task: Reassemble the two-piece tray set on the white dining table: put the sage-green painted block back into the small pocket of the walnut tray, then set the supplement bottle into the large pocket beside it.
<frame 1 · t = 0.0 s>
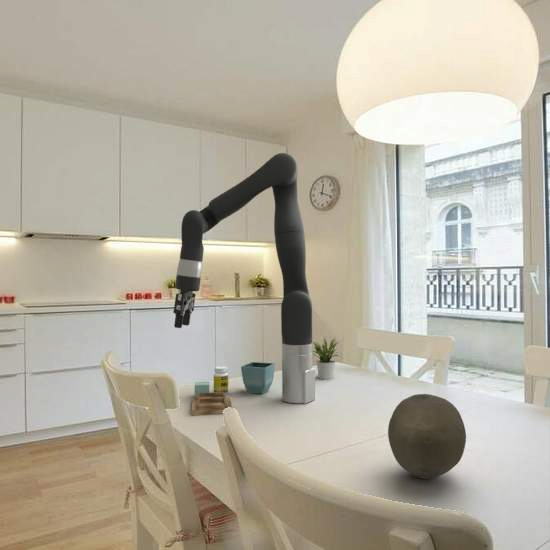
hand: (181, 326, 142), 22 cm above the table, tool pointing down, fingers open, 8 cm apart
block: (201, 397, 143), on the table
walnut tray: (211, 406, 132), on the table
supplement bottle: (220, 394, 148), on the table
house plant: (329, 378, 171), on the table
brown ball: (426, 478, 84), on the table
flower pot: (258, 392, 150), on the table
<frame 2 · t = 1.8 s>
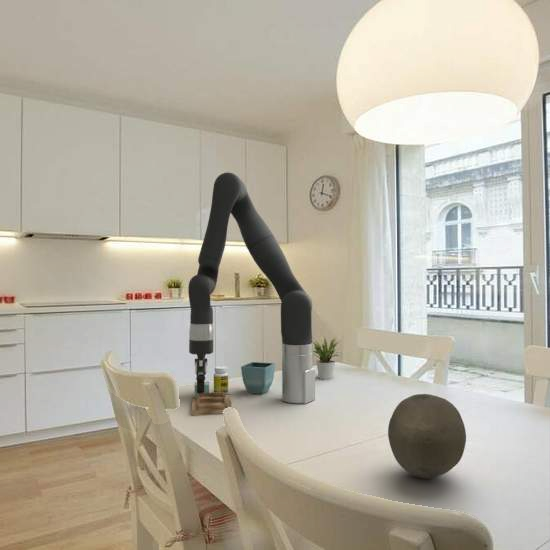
hand: (200, 389, 143), 2 cm above the table, tool pointing down, fingers open, 8 cm apart
nothing on the table moved.
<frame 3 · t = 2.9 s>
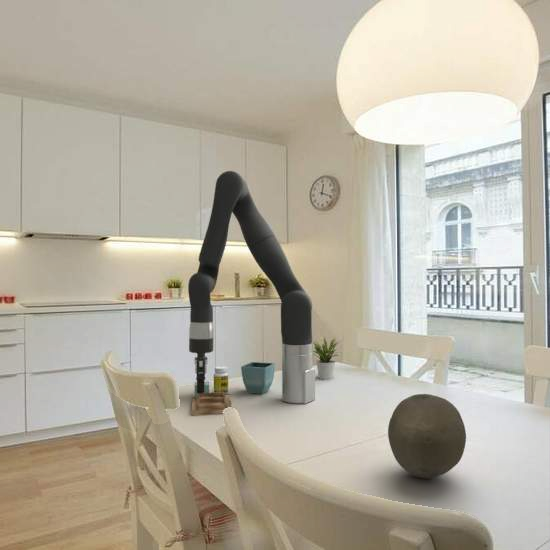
hand: (200, 390, 142), 2 cm above the table, tool pointing down, fingers open, 6 cm apart
block: (201, 397, 143), on the table, touching gripper
everything else where it was.
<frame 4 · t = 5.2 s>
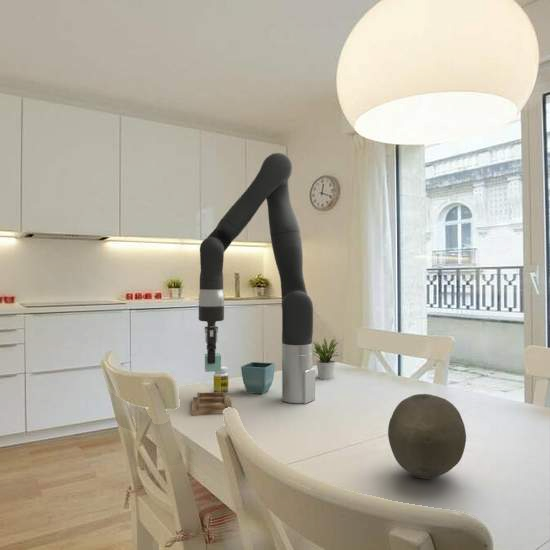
hand: (211, 361, 136), 12 cm above the table, tool pointing down, fingers closed on block, 4 cm apart
block: (212, 369, 136), point 10 cm above the table, touching gripper
everything else where it was.
when the fingers open (3 cm above the table, at t = 7.1 s): block stays where it is, resting on walnut tray.
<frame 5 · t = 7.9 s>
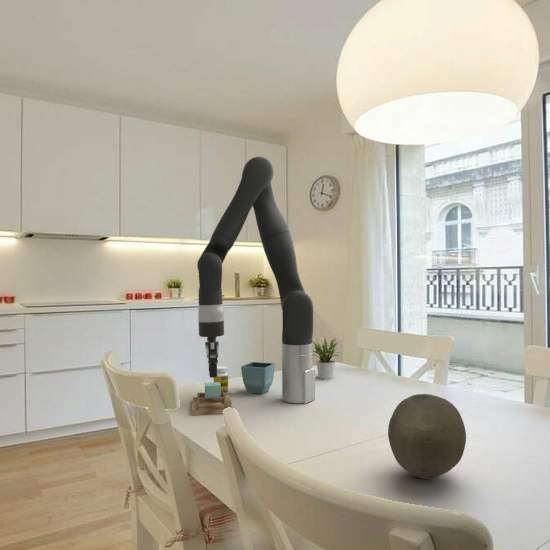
hand: (212, 374, 136), 9 cm above the table, tool pointing down, fingers open, 8 cm apart
block: (212, 399, 136), point 1 cm above the table, touching walnut tray
everything else where it was.
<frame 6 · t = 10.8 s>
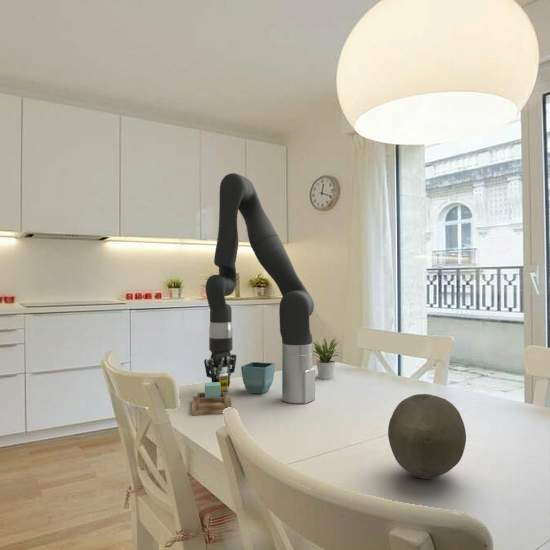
hand: (220, 388, 148), 2 cm above the table, tool pointing down, fingers closed on supplement bottle, 4 cm apart
supplement bottle: (220, 393, 148), on the table, touching gripper
everything else where it was.
when the fingers open (4 cm above the table, at t = 15.9 s): supplement bottle drops 1 cm, resting on walnut tray.
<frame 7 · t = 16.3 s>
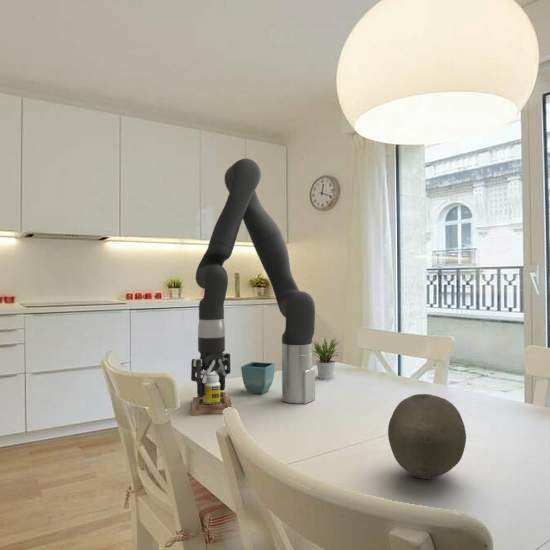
hand: (211, 393, 129), 5 cm above the table, tool pointing down, fingers open, 8 cm apart
supplement bottle: (211, 406, 129), point 1 cm above the table, touching walnut tray
everything else where it was.
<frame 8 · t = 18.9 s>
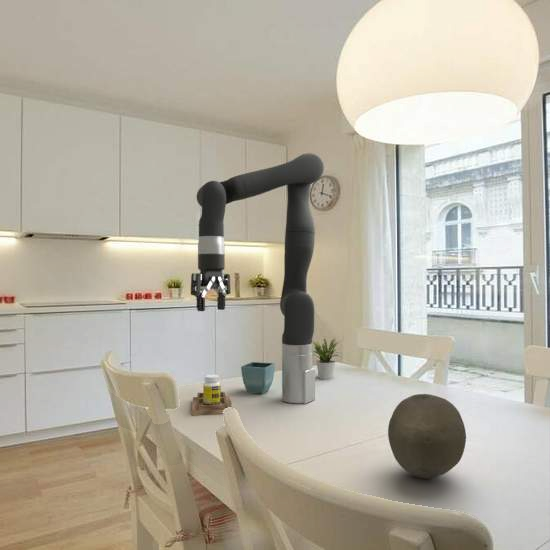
hand: (211, 310, 129), 28 cm above the table, tool pointing down, fingers open, 8 cm apart
nothing on the table moved.
at the end: supplement bottle 0.2 cm from the target spot on the walnut tray, point 1.0 cm above the walnut tray's base; block 0.4 cm from the target spot on the walnut tray, point 1.2 cm above the walnut tray's base; supplement bottle tilted 0° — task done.
